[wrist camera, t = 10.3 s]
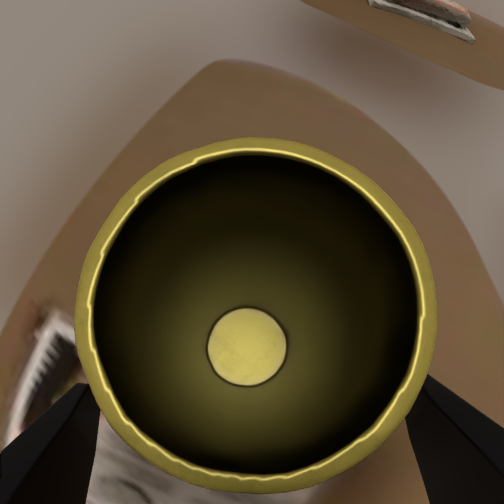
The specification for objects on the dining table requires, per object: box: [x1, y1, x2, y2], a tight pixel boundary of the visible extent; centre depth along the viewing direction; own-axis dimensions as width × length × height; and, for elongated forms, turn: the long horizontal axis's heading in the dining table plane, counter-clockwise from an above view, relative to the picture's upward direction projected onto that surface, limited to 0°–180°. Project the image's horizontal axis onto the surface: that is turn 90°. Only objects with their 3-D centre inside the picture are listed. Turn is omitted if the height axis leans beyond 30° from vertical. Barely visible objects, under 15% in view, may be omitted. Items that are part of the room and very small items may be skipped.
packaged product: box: [368, 0, 476, 44], centre depth 32 cm, size 18×5×10 cm
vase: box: [74, 137, 437, 494], centre depth 11 cm, size 6×6×14 cm
